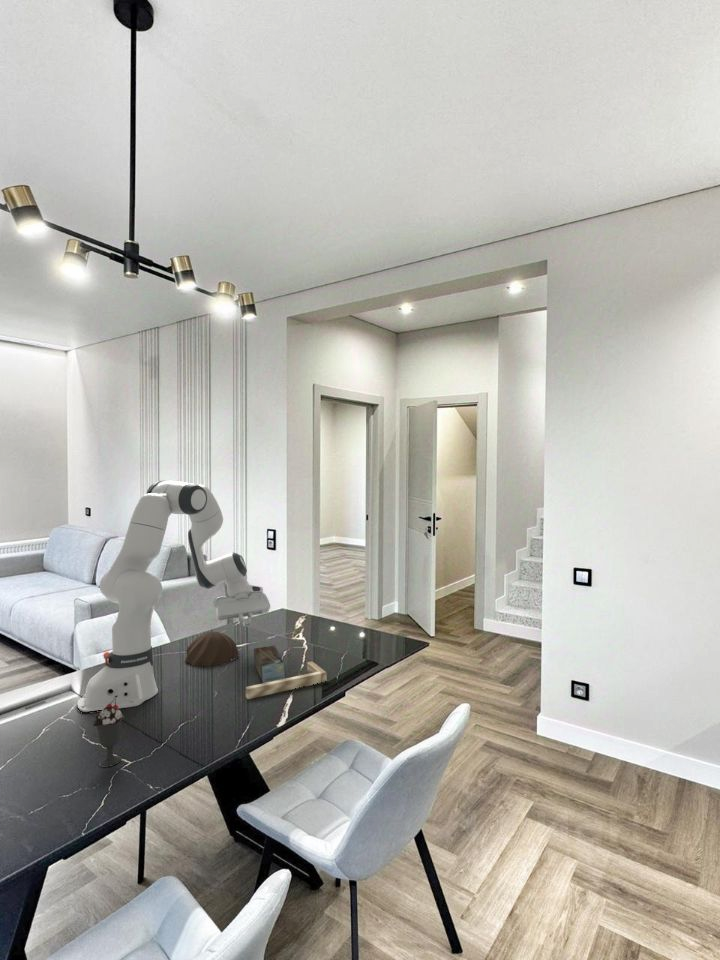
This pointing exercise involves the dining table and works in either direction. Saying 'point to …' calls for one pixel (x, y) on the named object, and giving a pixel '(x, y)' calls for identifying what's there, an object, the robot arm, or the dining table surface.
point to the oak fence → (288, 682)
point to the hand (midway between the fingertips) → (247, 625)
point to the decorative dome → (211, 650)
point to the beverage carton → (269, 664)
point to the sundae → (109, 731)
